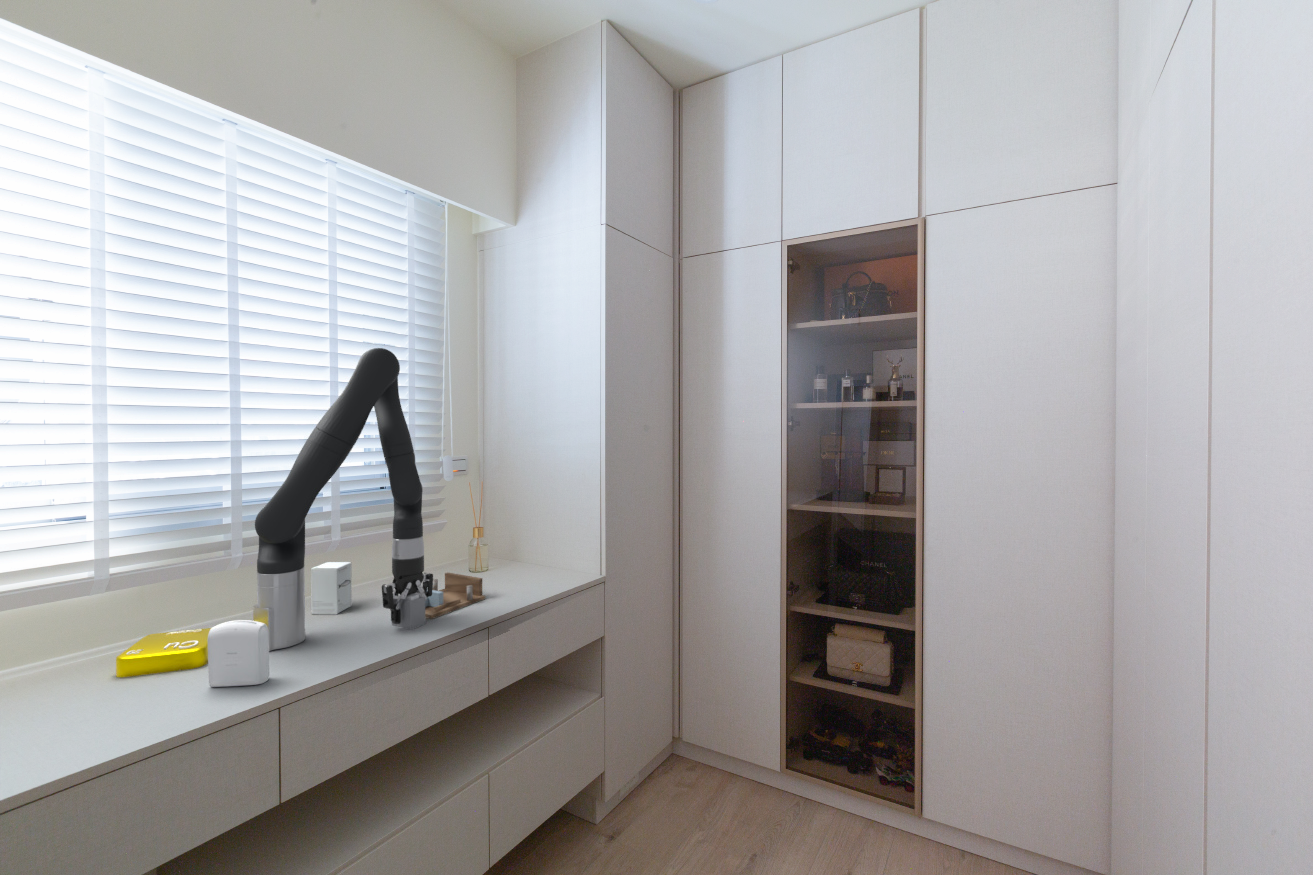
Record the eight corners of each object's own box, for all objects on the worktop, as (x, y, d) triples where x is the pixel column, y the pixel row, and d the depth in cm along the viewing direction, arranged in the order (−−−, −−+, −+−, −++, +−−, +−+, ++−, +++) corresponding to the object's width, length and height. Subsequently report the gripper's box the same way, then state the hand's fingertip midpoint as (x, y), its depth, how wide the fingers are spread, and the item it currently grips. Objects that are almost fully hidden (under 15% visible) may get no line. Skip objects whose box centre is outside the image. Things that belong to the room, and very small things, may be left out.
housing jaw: (426, 612, 150) (426, 597, 150) (397, 606, 155) (397, 591, 155) (443, 606, 156) (443, 591, 155) (415, 600, 161) (415, 586, 160)
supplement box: (337, 614, 152) (337, 568, 152) (310, 614, 152) (309, 567, 152) (352, 606, 159) (352, 561, 159) (326, 605, 159) (326, 561, 159)
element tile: (227, 643, 133) (227, 623, 133) (202, 669, 119) (202, 647, 119) (147, 652, 127) (146, 631, 127) (111, 680, 113) (111, 657, 113)
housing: (431, 618, 149) (431, 596, 149) (390, 609, 156) (390, 588, 156) (484, 598, 166) (484, 578, 166) (445, 591, 173) (445, 571, 173)
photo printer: (204, 689, 109) (203, 625, 109) (218, 679, 113) (218, 617, 113) (260, 686, 110) (259, 623, 110) (273, 677, 114) (272, 616, 114)
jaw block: (410, 629, 141) (410, 598, 141) (391, 625, 144) (391, 594, 144) (425, 624, 145) (425, 593, 145) (406, 619, 148) (406, 590, 148)
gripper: (393, 562, 136) (394, 630, 137) (441, 550, 149) (441, 613, 150) (373, 558, 140) (373, 625, 140) (421, 547, 153) (421, 608, 153)
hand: (408, 618), depth 145 cm, fingers open, 6 cm apart
